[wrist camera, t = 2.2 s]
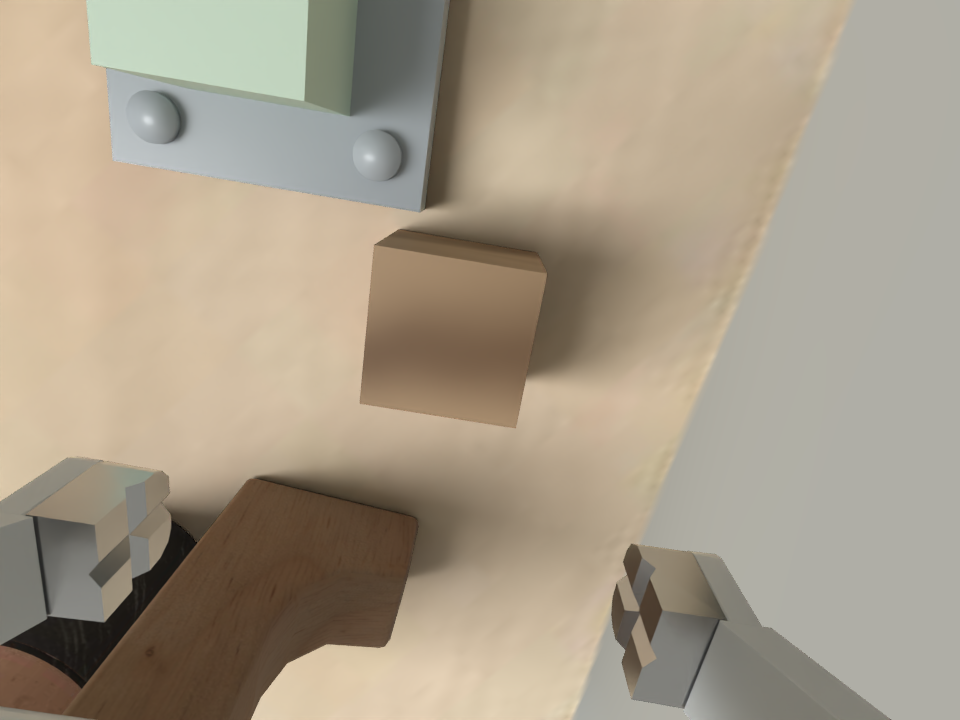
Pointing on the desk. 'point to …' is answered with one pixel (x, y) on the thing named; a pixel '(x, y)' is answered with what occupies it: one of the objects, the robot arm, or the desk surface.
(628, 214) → the desk surface
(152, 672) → the wooden block
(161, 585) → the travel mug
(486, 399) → the walnut brick
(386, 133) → the base plate
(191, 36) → the green brick
